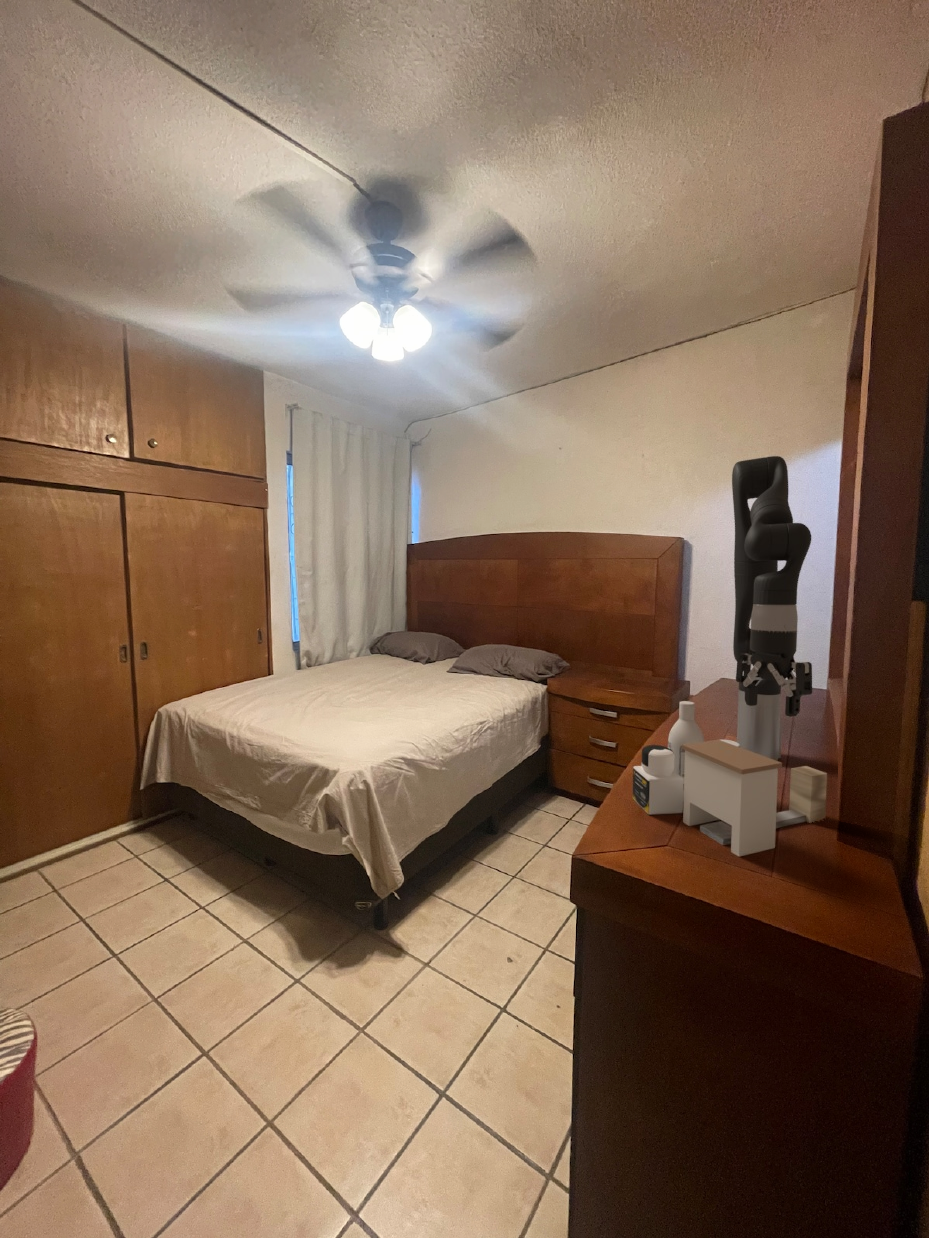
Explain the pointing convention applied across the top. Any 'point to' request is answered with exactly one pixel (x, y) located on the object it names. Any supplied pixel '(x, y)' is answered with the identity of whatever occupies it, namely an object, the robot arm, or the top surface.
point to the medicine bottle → (658, 782)
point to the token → (718, 832)
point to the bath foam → (683, 735)
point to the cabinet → (732, 792)
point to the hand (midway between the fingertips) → (770, 710)
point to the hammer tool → (804, 797)
